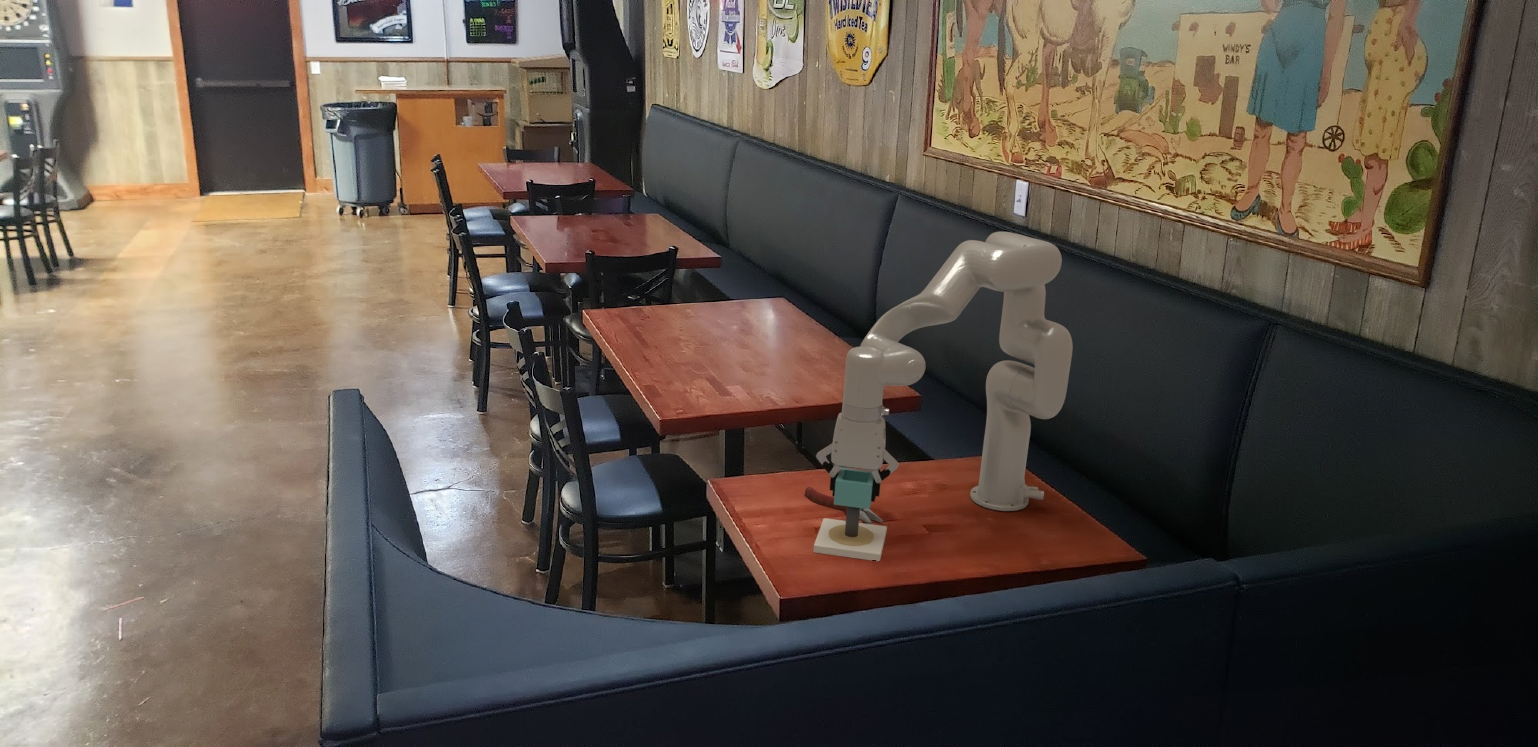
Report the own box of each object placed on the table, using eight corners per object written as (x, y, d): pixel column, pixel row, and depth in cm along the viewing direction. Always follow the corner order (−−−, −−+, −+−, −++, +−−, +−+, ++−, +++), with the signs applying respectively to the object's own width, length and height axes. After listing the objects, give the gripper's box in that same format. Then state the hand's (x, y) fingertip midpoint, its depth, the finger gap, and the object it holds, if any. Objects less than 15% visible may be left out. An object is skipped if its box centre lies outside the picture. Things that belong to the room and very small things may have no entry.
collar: (873, 495, 226) (875, 471, 224) (869, 509, 219) (871, 485, 218) (838, 490, 227) (840, 467, 225) (833, 504, 220) (835, 480, 219)
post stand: (886, 533, 231) (889, 498, 229) (879, 561, 219) (883, 525, 216) (823, 524, 233) (825, 490, 231) (813, 552, 221) (815, 516, 219)
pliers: (854, 533, 231) (855, 522, 230) (802, 496, 247) (802, 485, 247) (899, 523, 237) (901, 512, 236) (845, 488, 253) (846, 477, 252)
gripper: (908, 410, 220) (899, 494, 225) (819, 400, 222) (813, 483, 228) (905, 423, 212) (896, 510, 218) (813, 412, 215) (807, 498, 221)
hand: (854, 495), depth 223 cm, fingers closed on collar, 7 cm apart
